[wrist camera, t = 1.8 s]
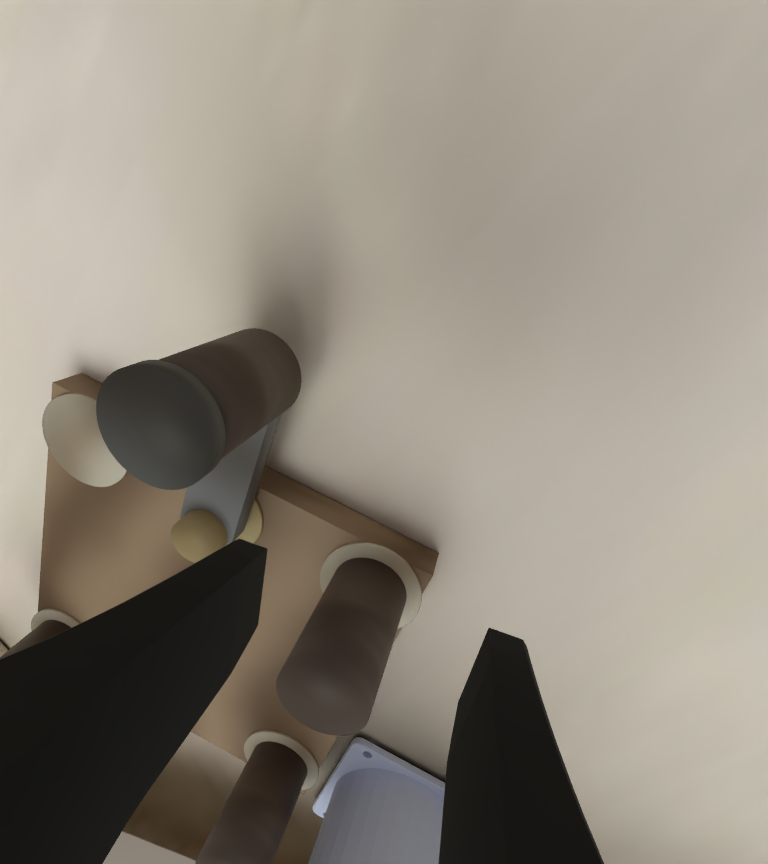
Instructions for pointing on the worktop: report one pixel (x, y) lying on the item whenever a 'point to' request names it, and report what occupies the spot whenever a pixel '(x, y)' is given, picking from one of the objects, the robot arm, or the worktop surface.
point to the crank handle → (202, 428)
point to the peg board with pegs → (278, 620)
